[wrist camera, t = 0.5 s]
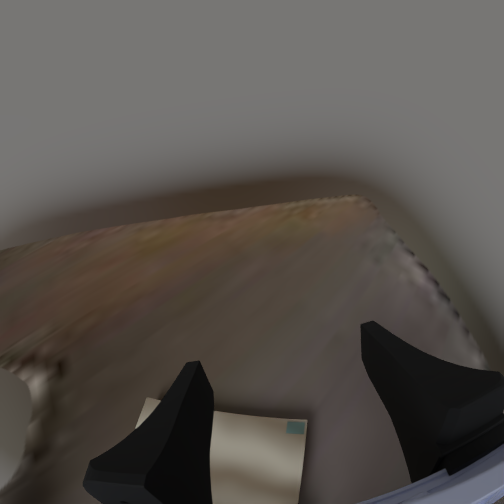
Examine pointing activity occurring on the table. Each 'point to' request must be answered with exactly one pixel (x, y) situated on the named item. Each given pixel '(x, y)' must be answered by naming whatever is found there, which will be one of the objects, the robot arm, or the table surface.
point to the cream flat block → (252, 457)
